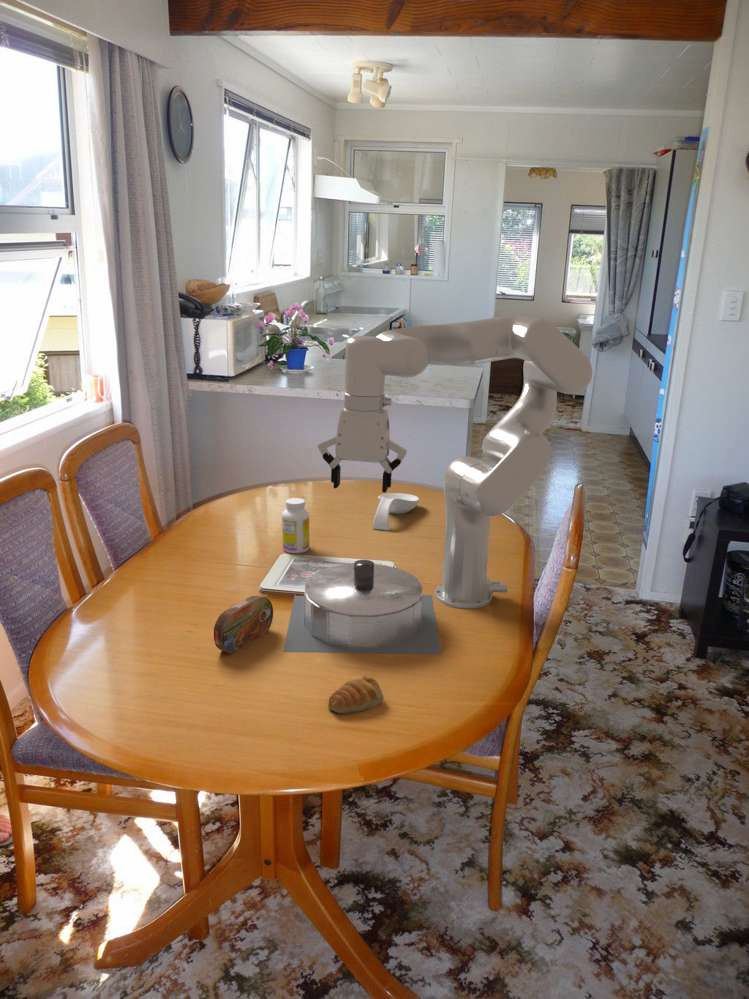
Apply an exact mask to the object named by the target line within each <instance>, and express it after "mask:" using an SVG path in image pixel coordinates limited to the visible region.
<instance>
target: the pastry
mask: <svg viewBox="0 0 749 999" xmlns="http://www.w3.org/2000/svg"><path fill="white" fill-rule="evenodd" d="M383 701H384V694H383V690H382V688H381V687H380V684H379V682H378V681H377V680H376V679H375V678H374V677H373V676H368V675H363V676H361V677H359V678H357V679H352V680H349V681H345V683H344V684H343V685H341V686H340V687H339V688H338V689H337V690H335V691H334V692H333V693H332V694H331V696H329V698H328V707H327V708H329V709H330V710H331V711H333V712H335V713H338V714H341V713H345V714H347V712H349V713H359V712H360V711H361V712H362V711H365V710H368V709H371V708H374V707H376V706H378V705H380V704H381V703H382V702H383ZM370 707H371V708H370ZM367 708H368V709H367Z"/></svg>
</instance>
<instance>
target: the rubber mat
mask: <svg viewBox="0 0 749 999" xmlns="http://www.w3.org/2000/svg"><path fill="white" fill-rule="evenodd" d="M422 595H423V607H422V627H421V628H420V630H419V631H418V632H417V634H416V635H415V636H414V638H412V639H410V640H408V641H406V642H404V643H402V644H400V645H398V646H393V647H387V648H382V649H377V650H350V649H346V648H341V647H337V646H333V645H328V644H326V643H324V642H322V641H321V640H319V639H317V638H315V637H312V636H311V634H310V632H309V631H308V630H307V628H306V627H305V626H304V596H296V595H295V594H294V597H293V601H292V607H291V612H290V617H289V621H288V622H289V623H288V627H287V632H286V635H285V641H284V648H283V653H286V652H287V653H328V654H329V653H336V654H337V653H341V654H345V653H346V654H350V653H351V654H391V655H392V654H396V655H397V654H399V655H401V654H402V655H404V654H405V655H407V654H408V655H442V649H441V645H440V643H441V642H440V638H439V633H438V627H437V619H436V615H435V614H436V613H435V608H434V601H433V597H432V595H431V594H422Z"/></svg>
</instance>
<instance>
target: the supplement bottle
mask: <svg viewBox="0 0 749 999" xmlns="http://www.w3.org/2000/svg"><path fill="white" fill-rule="evenodd" d="M285 506H286V509H284V510H283V511H282V513H281V528H282V549H283V551H284V552H286V553H288V554H294V555H295V554H303V553H306V552H308V551H309V549H310V513H309V511H308V510H307V509H306V508H305V506H306V501H305V499H303V498H299V497H292V498H288V499H286V500H285Z"/></svg>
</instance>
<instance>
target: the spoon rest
mask: <svg viewBox="0 0 749 999" xmlns="http://www.w3.org/2000/svg"><path fill="white" fill-rule="evenodd" d="M377 499H378V502H379V503H378V506H377V509H376V511H375V515H374V519H373V523H372V529H374V530H379V531H380V530H381V531H390V528H391V527H390V514H394V515H395V514H396V515H401V514H407V513H408V512H410V511H412V510H413V509H414V508H415V507H417V505H418V504H419V502H420V498H419V496H417V495H415V494H410V493H403V492H401V493H399V492H397V493H396V492H395V493H393V492H392V493H391V492H389V493H383V494H380V495H378V496H377Z"/></svg>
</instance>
